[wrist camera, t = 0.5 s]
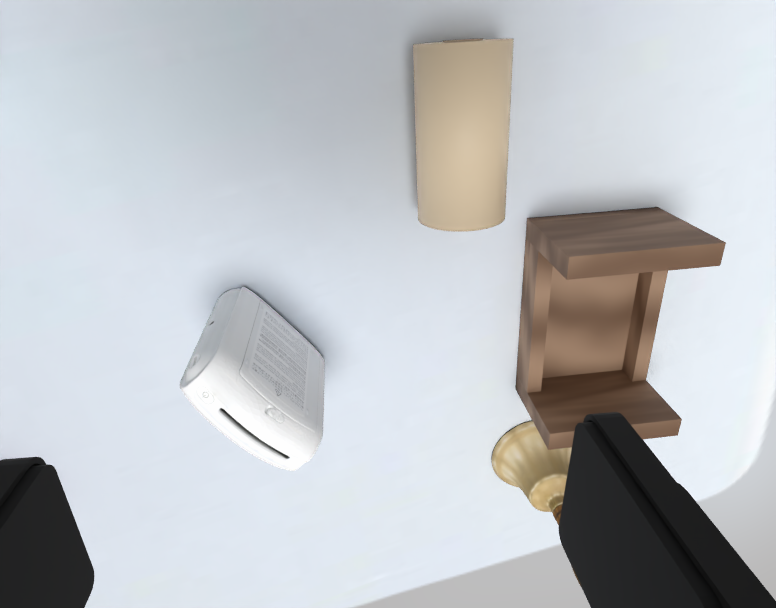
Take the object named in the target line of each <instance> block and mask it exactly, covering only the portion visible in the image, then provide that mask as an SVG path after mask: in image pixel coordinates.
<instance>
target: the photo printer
mask: <svg viewBox="0 0 776 608" xmlns="http://www.w3.org/2000/svg"><path fill="white" fill-rule="evenodd" d="M324 379H325V361H324V359H323V357H322V356H321V355H320V353H319V352H318V351H317V350H316V349H315V347H314V346H313V345H311V344H310V343H309V342H308V341H307V340H306V339H305V338H304V337H303V336H302V335H301V334H300V333H299V332H298V331H297V330H296V329H295V328H293V327H292V326H291V325H290V324H289V323H288V322H287V321H286V320H285V319H284V318H283V317H281V316H280V315H279V314H278V313H277V312H276V311H275V310H274V309H272V308H271V307H270V306H269V305H268V304H267V303H266V302H264V301H263V300H262V299H261V298H260V297H258V296H257V295H256V294H255V293H253V292H252V291H250V290H249V289H247V288H245V287H242V288H241V289H240V288H236V289H232V290H229V291H227V292H225V293H224V294H222V295H221V296H220V298H219V299H218V301H217V303H216V305H215V307H214V309H213V311H212V314H211V315H210V317H209V319H208V321H207V323H206V326H205V328H204V330H203V332H202V334H201V337H200V339H199V341H198V343H197V345H196V348H195V350H194V352H193V354H192V357H191V359H190V361H189V363H188V365H187V368H186V370H185V372H184V375H183V377H182V379H181V381H180V389H181V390H182V392H183V393H184V395H185V396H186V398H187V399H188V400H189V402H190V403H191V404H192V405H193V406H194V407H195V409H196V410H197V411H198V412H199V413H200V414H201V415H202V416H203V417H204V418H205V419H206V420H207V421H208V422H209V423H211V424H212V425H213V426H214V427H215V428H216V429H217V430H219V431H220V432H221V433H222V434H223V435H225V436H226V437H227V438H229V439H230V440H231V441H233V442H234V443H235V444H237V445H238V446H239V447H241V448H242V449H244V450H245V451H247V452H249V453H250V454H252V455H254V456H255V457H257V458H259V459H260V460H262V461H264V462H267V463H269V464H271V465H273V466H276V467H279V468H282V469H285V470H289V471H295V470H297V469H298V468H299V467H300V466H301V465H303V464H304V463H306V462H309V461H310V460H311V458H312V457H313V455H314V454H315V452H316V451H317V449H318V447H319V445H320V442H321V439H322V436H323V414H324V381H325V380H324Z"/></svg>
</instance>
